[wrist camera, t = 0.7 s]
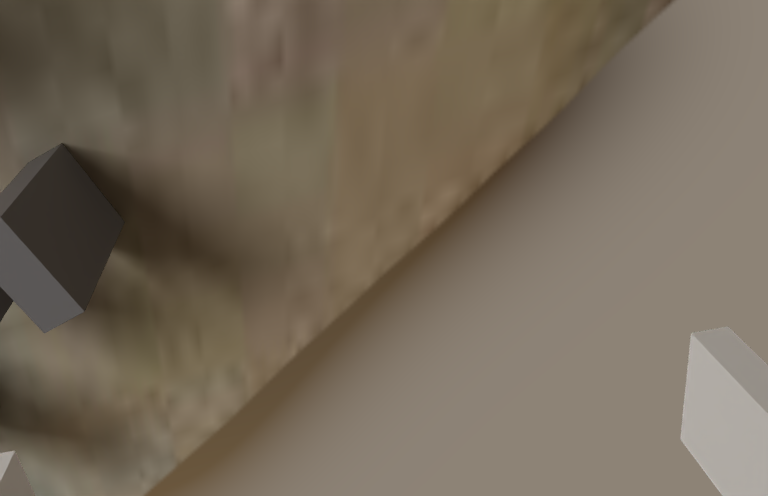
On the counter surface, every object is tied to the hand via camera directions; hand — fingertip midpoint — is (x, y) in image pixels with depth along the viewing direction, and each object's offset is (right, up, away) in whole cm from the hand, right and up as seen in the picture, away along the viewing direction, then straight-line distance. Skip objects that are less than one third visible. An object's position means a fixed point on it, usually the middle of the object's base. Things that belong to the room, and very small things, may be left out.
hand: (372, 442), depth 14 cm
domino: (-15, +7, +23) cm, 28 cm away
